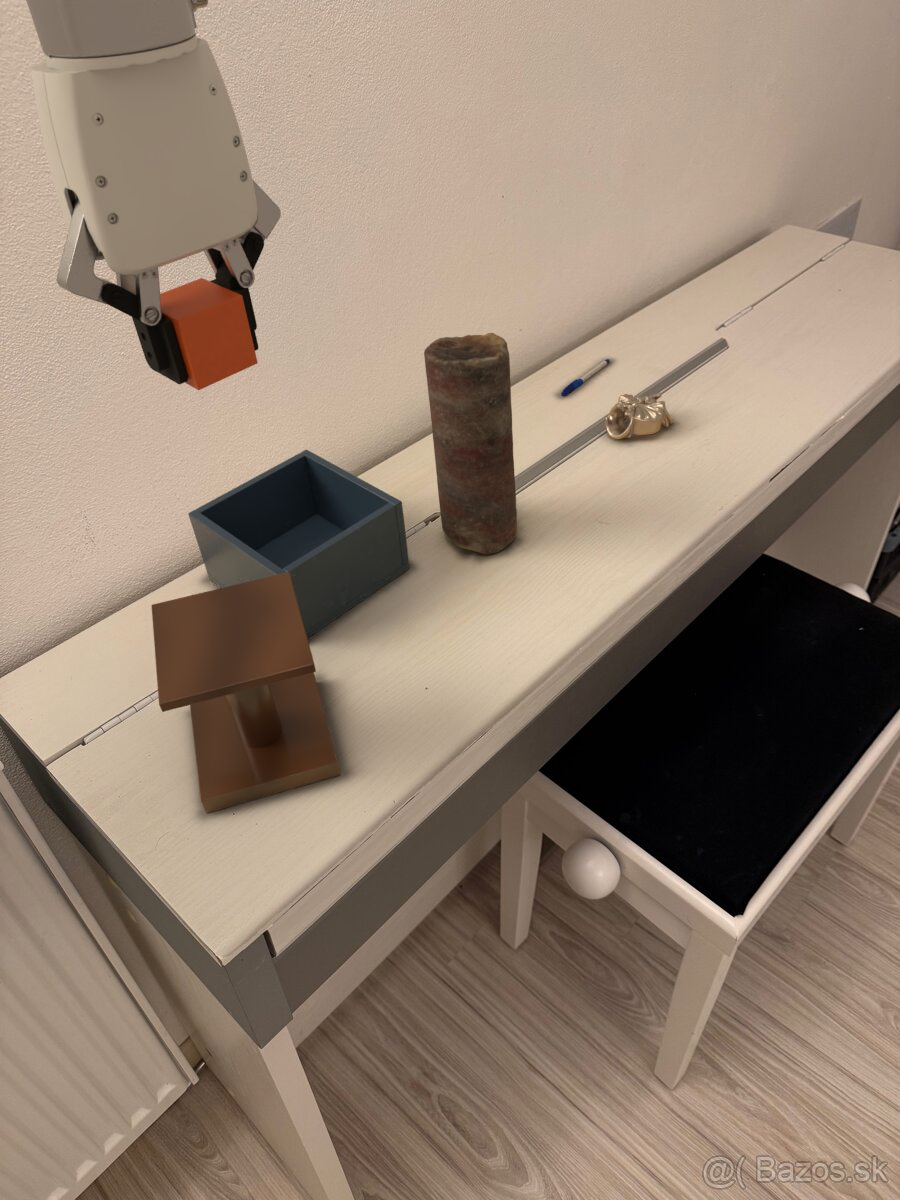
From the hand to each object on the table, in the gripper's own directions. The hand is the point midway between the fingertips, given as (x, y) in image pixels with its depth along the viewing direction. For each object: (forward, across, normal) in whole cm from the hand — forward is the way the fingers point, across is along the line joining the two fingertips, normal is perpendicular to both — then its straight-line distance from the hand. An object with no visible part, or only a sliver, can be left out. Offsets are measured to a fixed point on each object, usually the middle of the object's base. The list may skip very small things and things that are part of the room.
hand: (207, 358), depth 55 cm
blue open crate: (+28, -8, -8) cm, 30 cm away
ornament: (+28, -49, 0) cm, 57 cm away
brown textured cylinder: (+28, -23, 0) cm, 36 cm away
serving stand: (+28, +7, +6) cm, 29 cm away
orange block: (+1, 0, 0) cm, 1 cm away
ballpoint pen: (+28, -55, -11) cm, 63 cm away
